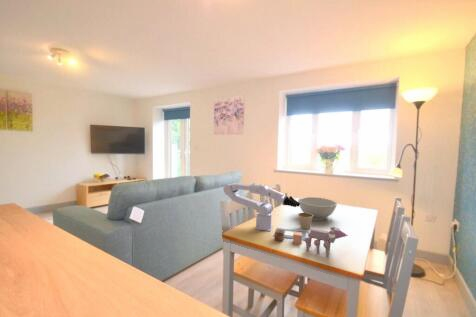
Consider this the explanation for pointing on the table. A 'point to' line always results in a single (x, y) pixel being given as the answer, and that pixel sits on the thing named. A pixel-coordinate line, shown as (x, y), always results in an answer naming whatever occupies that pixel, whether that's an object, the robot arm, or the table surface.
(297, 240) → the terracotta block
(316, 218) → the decorative bowl
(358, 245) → the table surface
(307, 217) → the flower pot
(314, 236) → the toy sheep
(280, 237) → the walnut block
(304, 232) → the board
